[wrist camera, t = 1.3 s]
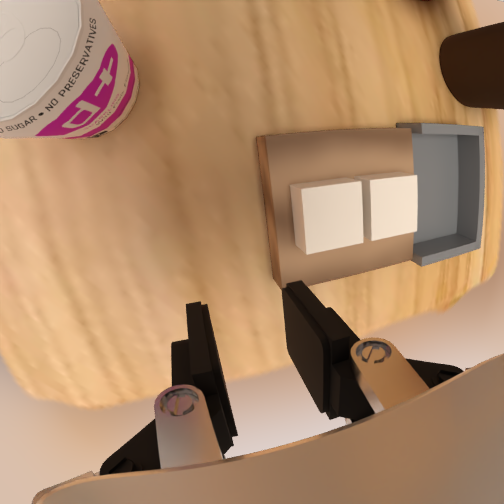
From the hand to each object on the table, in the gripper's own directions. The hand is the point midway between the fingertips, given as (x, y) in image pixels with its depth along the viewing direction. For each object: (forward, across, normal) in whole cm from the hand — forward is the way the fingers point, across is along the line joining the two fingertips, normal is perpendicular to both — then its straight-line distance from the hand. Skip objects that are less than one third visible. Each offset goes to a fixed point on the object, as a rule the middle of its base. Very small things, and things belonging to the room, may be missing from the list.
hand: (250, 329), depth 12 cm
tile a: (+14, -9, 0) cm, 17 cm away
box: (+17, -24, 0) cm, 30 cm away
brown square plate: (+17, -12, 0) cm, 21 cm away
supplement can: (+17, +8, -13) cm, 23 cm away
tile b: (+14, -15, 0) cm, 21 cm away
